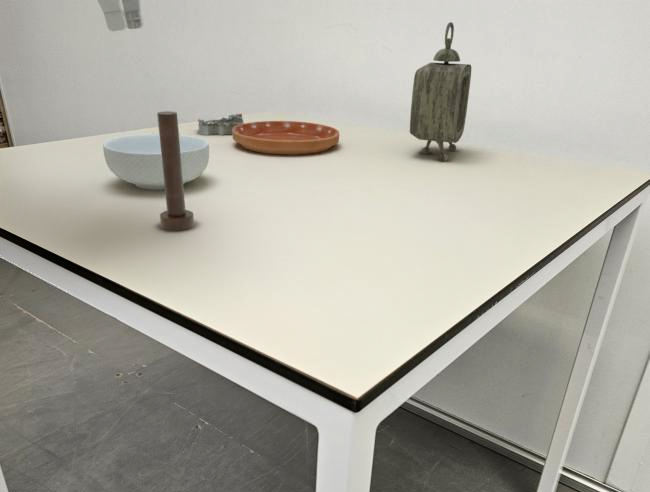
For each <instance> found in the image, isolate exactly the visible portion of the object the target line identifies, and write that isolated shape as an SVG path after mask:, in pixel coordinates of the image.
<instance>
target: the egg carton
mask: <svg viewBox="0 0 650 492" xmlns="http://www.w3.org/2000/svg"><path fill="white" fill-rule="evenodd" d="M197 122H198V134H199V135H203V136H210V135H218V136H224V135H232V129H233V128H234V127H235V126H237V125H241V124H245V121H244V118H243V114H242V113H235V114H234V113H232V114H230V115H229V116H228V117H222V118H218V119H216V118H213V119H208V120H204V119H201V118H198V119H197Z"/></svg>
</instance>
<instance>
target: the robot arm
mask: <svg viewBox="0 0 650 492" xmlns="http://www.w3.org/2000/svg"><path fill="white" fill-rule="evenodd" d="M97 2H98V5H99V6H100V9H101V10H102V13H103V16H104V18H105V22H106V26H107V29H108V31H110V32H119V31H125V30H126V29H127V28H128V29H129V30H136V29H142V28H143V27H144V19H143V16H142V9H141V8H142V7H141V0H97Z"/></svg>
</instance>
